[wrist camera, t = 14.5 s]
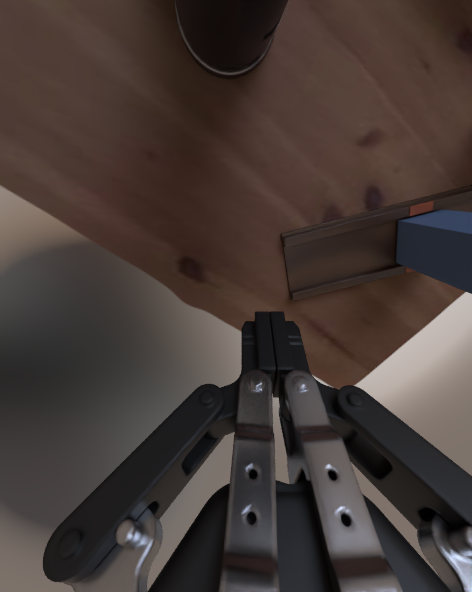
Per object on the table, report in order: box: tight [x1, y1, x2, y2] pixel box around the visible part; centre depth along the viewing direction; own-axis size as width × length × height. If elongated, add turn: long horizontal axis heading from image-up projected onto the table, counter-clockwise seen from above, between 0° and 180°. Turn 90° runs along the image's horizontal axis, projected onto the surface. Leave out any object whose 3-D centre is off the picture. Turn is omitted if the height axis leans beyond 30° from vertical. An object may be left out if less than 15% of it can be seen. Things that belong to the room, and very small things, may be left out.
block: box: [396, 209, 472, 294], centre depth 28 cm, size 6×6×12 cm
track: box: [281, 185, 472, 301], centre depth 34 cm, size 10×28×1 cm, turn 103°
